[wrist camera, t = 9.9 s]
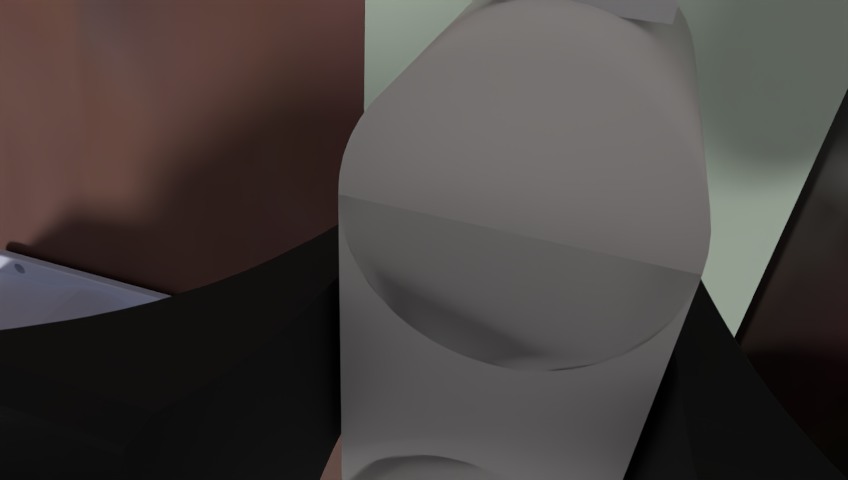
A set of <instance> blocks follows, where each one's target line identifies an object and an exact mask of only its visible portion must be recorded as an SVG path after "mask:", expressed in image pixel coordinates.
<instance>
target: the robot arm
mask: <svg viewBox="0 0 848 480" xmlns="http://www.w3.org/2000/svg"><path fill="white" fill-rule="evenodd" d="M340 435H341V368H340V295H339V224H338V225H337V226H335V227H333V228H331V229H329V230H328V231H326V232H324V233H322V234H321V235H319V236H317V237H315V238H313V239H311V240H309V241H307V242H305V243H303V244H301V245H299V246H297V247H295V248H293V249H291V250H289V251H287V252H285V253H283V254H281V255H279V256H277V257H275V258H273V259H271V260H269V261H267V262H265V263H263V264H260V265H258V266H256V267H253V268H251V269H249V270H246V271H244V272H241V273H239V274H236V275H233V276H231V277H228V278H226V279H223V280H220V281H218V282H215V283H212V284H209V285H206V286H203V287H200V288H196V289H193V290H190V291H187V292H183V293H180V294H177V295H173V296H170V295H166V294H163V293H159V292H155V291H152V290H148V289H144V288H141V287H137V286H133V285H130V284H126V283H122V282H119V281H115V280H112V279H108V278H104V277H101V276H97V275H93V274H90V273H86V272H82V271H79V270H75V269H72V268H68V267H64V266H61V265H57V264H53V263H50V262H46V261H42V260H39V259H35V258H31V257H28V256H24V255H21V254H17V253H13V252H10V251H6V250H0V480H320V478H321V475H322V473H323V471H324V469H325V466H326V464H327V462H328V460H329V457H330V455H331V453H332V450H333V448H334V446H335V444H336V442H337V440H338V439H339V437H340ZM623 480H848V479H847V478H846V477H845V476H844V475H843V474H842V473H841V472H840V471H839V470H838V469H837V468H836V467H835V466H834V465H833V464H832V463H831V462H830V461H829V459H828V458H827V457H826V456H825V455H824V454H823V453H822V452H821V451H820V450H819V449H818V448H817V446H816V445H815V444H814V443H813V442H812V441H811V440H810V438H809V437H808V436H807V435H806V434H805V433H804V431H803V430H802V429H801V428H800V427H799V426H798V424H797V423H796V422H795V421H794V420H793V419H792V417H791V416H790V415H789V414H788V413H787V411H786V410H785V409H784V408H783V407H782V405H781V404H780V403H779V401H778V400H777V399H776V398H775V396H774V395H773V394H772V392H771V391H770V390H769V388H768V387H767V386H766V384H765V383H764V381H763V380H762V379H761V377H760V376H759V374H758V373H757V372H756V370H755V369H754V367H753V366H752V364H751V363H750V361H749V360H748V358H747V357H746V355H745V354H744V352H743V351H742V349H741V347H740V346H739V344H738V343H737V341H736V339H735V338H734V336H733V335H732V333H731V331H730V330H729V328H728V326H727V325H726V323H725V321H724V320H723V318H722V316H721V314H720V313H719V311H718V309H717V307H716V306H715V304H714V302H713V300H712V298H711V297H710V295H709V293H708V291H707V289H706V287H705V285H704V283H703V281H702V280H701V279H700V282H699V285H698V287H697V290H696V292H695V295H694V297H693V300H692V303H691V305H690V308H689V310H688V313H687V316H686V318H685V321H684V323H683V326H682V328H681V331H680V334H679V336H678V339H677V341H676V344H675V346H674V349H673V352H672V354H671V357H670V359H669V362H668V364H667V367H666V370H665V372H664V375H663V377H662V380H661V383H660V385H659V388H658V390H657V393H656V395H655V398H654V401H653V403H652V406H651V408H650V411H649V413H648V416H647V419H646V421H645V424H644V426H643V429H642V432H641V434H640V437H639V439H638V442H637V444H636V447H635V450H634V452H633V455H632V457H631V460H630V462H629V465H628V468H627V470H626V473H625V475H624V478H623Z"/></svg>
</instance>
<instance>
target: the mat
mask: <svg viewBox="0 0 848 480" xmlns="http://www.w3.org/2000/svg"><path fill="white" fill-rule="evenodd" d="M473 1H474V0H365V75H364V113H365V111H366V110H367V109H368V107H369V106H370V105H371V104H372V102H373V101H374V100H375V99H376V98H377V97H378V96H379V95H380V94H381V93H382V92H383V91H384V90H385V89H386V88H387V87H388V86H389V85H390V84H391V83H392V82H393V81H394V80H395V79H396V78H397V77H398V76H399V75H400V74H401V73H402V72H403V71H404V70H405V69H406V68H407V67H408V66H409V65H410V64H411V63H412V62H413V61H414V60H415V59H416V58H417V57H418V56H419V55H420V54H421V53H422V52H423V51H424V50H425V49H426V48H427V47H428V46H429V45H430V44H431V43H432V42H433V41H434V40H435V39H436V38H437V37H438V36H439V35H440V34H441V33H442V32H443V31H444V30H445V29H446V28H447V27H448V26H449V25H450V24H451V23H452V22H453V21H454V20H455V19H456V18H457V17H458V16H459V15H460V14H461V13H462V12H463V11H464V10H465V9H466V8H467V7H468V6H469V5H470V4H471V3H472V2H473ZM678 6H679V8H680V9H681V11H682V13H683V15H684V17H685V19H686V21H687V24H688V27H689V30H690V32H691V35H692V40H693V45H694V50H695V60H696V70H697V80H698V91H699V101H700V111H701V121H702V131H703V141H704V151H705V162H706V172H707V182H708V192H709V202H710V217H711V237H710V245H709V253H708V257H707V260H706V264H705V267H704V271H703V274H702V277H701V280H702V281H703V283H704V285H705V287H706V289H707V291H708V293H709V295H710V297H711V298H712V300H713V302H714V304H715V306H716V307H717V309H718V311H719V313H720V314H721V316H722V318H723V320H724V321H725V323H726V325H727V326H728V328H729V330H730V331H731V333H732V335H733V336H734V337H735V335H736V333H737V330H738V328H739V326H740V324H741V322H742V320H743V317H744V315H745V313H746V311H747V309H748V306H749V304H750V302H751V300H752V298H753V295H754V293H755V291H756V289H757V287H758V284H759V282H760V280H761V278H762V276H763V273H764V271H765V269H766V267H767V265H768V262H769V260H770V258H771V256H772V254H773V251H774V249H775V247H776V245H777V243H778V240H779V238H780V236H781V234H782V232H783V229H784V227H785V225H786V223H787V221H788V218H789V216H790V214H791V212H792V210H793V207H794V205H795V203H796V201H797V199H798V196H799V194H800V192H801V190H802V188H803V185H804V183H805V181H806V179H807V177H808V174H809V172H810V170H811V168H812V166H813V163H814V161H815V159H816V157H817V155H818V153H819V150H820V148H821V146H822V144H823V142H824V139H825V137H826V135H827V133H828V131H829V128H830V126H831V124H832V122H833V120H834V117H835V115H836V113H837V111H838V109H839V106H840V104H841V102H842V100H843V98H844V95H845V93H846V91H847V89H848V0H679V4H678Z"/></svg>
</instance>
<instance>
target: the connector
mask: <svg viewBox="0 0 848 480" xmlns="http://www.w3.org/2000/svg"><path fill="white" fill-rule="evenodd" d="M678 4H679V0H474V1H473V2H472V3H471V4H470V5H469V6H468V7H467V8H466V9H465V10H464V11H463V12H462V13H461V14H460V15H459V16H458V17H457V18H456V19H455V20H454V21H453V22H452V23H451V24H450V25H449V26H448V27H447V28H446V29H445V30H444V31H443V32H442V33H441V34H440V35H439V36H438V37H437V38H436V39H435V40H434V41H433V42H432V43H431V44H430V45H429V46H428V47H427V48H426V49H425V50H424V51H423V52H422V53H421V54H420V55H419V56H418V57H417V58H416V59H415V60H414V61H413V62H412V63H411V64H410V65H409V66H408V67H407V68H406V69H405V70H404V71H403V72H402V73H401V74H400V75H399V76H398V77H397V78H396V79H395V80H394V81H393V82H392V83H391V84H390V85H389V86H388V87H387V88H386V89H385V90H384V91H383V92H382V93H381V94H380V95H379V96H378V97H377V98H376V99H375V100H374V101H373V102H372V104H371V105H370V106H369V107H368V109H367V110H366V111H365V113H364V114H363V115H362V116H361V118H360V119H359V121H358V123H357V125H356V127H355V128H354V130H353V132H352V134H351V136H350V138H349V141H348V144H347V146H346V149H345V152H344V154H343V159H342V164H341V168H340V173H339V188H338V221H339V295H340V368H341V442H342V480H623V478H624V475H625V473H626V470H627V468H628V465H629V462H630V460H631V457H632V455H633V452H634V450H635V447H636V444H637V442H638V439H639V437H640V434H641V432H642V429H643V426H644V424H645V421H646V419H647V416H648V413H649V411H650V408H651V406H652V403H653V401H654V398H655V395H656V393H657V390H658V388H659V385H660V383H661V380H662V377H663V375H664V372H665V370H666V367H667V364H668V362H669V359H670V357H671V354H672V352H673V349H674V346H675V344H676V341H677V339H678V336H679V334H680V331H681V328H682V326H683V323H684V321H685V318H686V316H687V313H688V310H689V308H690V305H691V303H692V300H693V297H694V295H695V292H696V290H697V287H698V285H699V282H700V279H701V277H702V274H703V271H704V267H705V264H706V260H707V257H708V253H709V245H710V237H711V217H710V202H709V192H708V182H707V172H706V162H705V151H704V141H703V131H702V121H701V111H700V101H699V91H698V80H697V70H696V60H695V50H694V45H693V40H692V35H691V32H690V30H689V27H688V24H687V21H686V19H685V17H684V15H683V13H682V11H681V9H680V8H679V6H678Z"/></svg>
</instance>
